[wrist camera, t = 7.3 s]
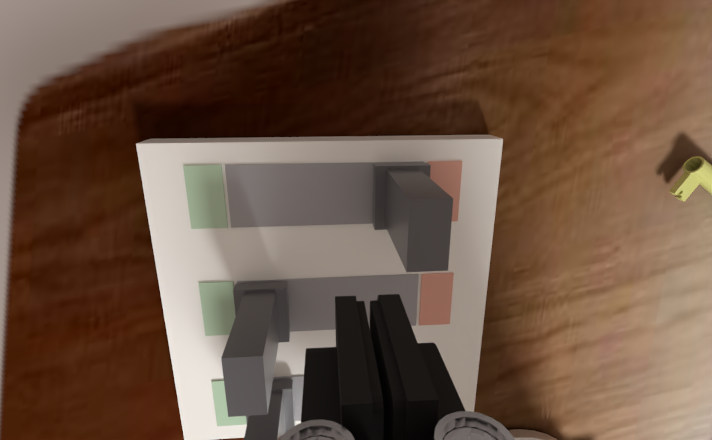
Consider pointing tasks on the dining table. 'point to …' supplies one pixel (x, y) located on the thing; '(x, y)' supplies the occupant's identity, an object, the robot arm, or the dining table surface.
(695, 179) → the key
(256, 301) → the middle switch
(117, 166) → the dining table surface
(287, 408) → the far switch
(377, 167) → the switch
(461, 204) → the switch board
